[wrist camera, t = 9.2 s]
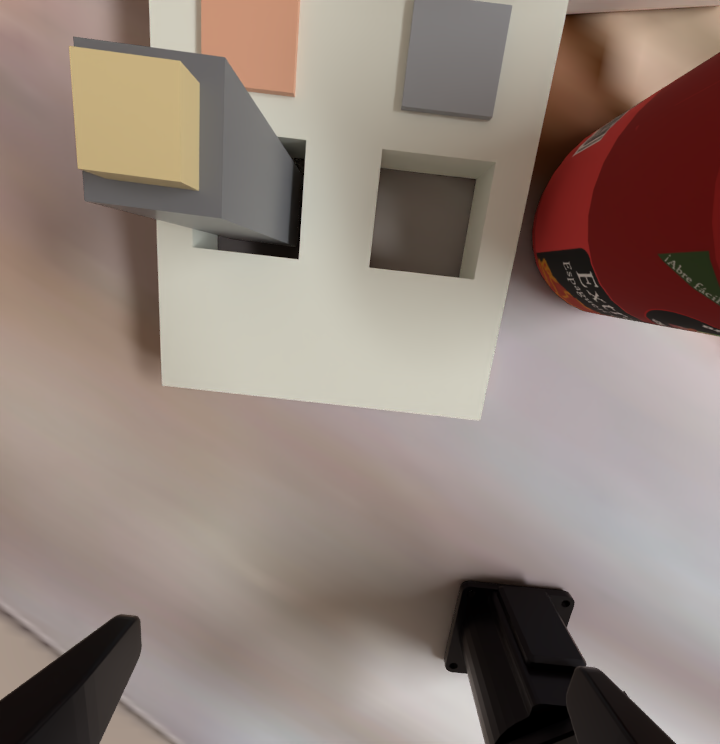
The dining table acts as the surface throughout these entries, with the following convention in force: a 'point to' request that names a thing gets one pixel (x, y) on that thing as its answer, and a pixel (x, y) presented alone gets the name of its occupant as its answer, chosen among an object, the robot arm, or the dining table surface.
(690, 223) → the canned food
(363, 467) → the dining table surface
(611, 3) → the medicine bottle
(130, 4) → the dining table surface
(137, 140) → the plug
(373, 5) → the socket board
